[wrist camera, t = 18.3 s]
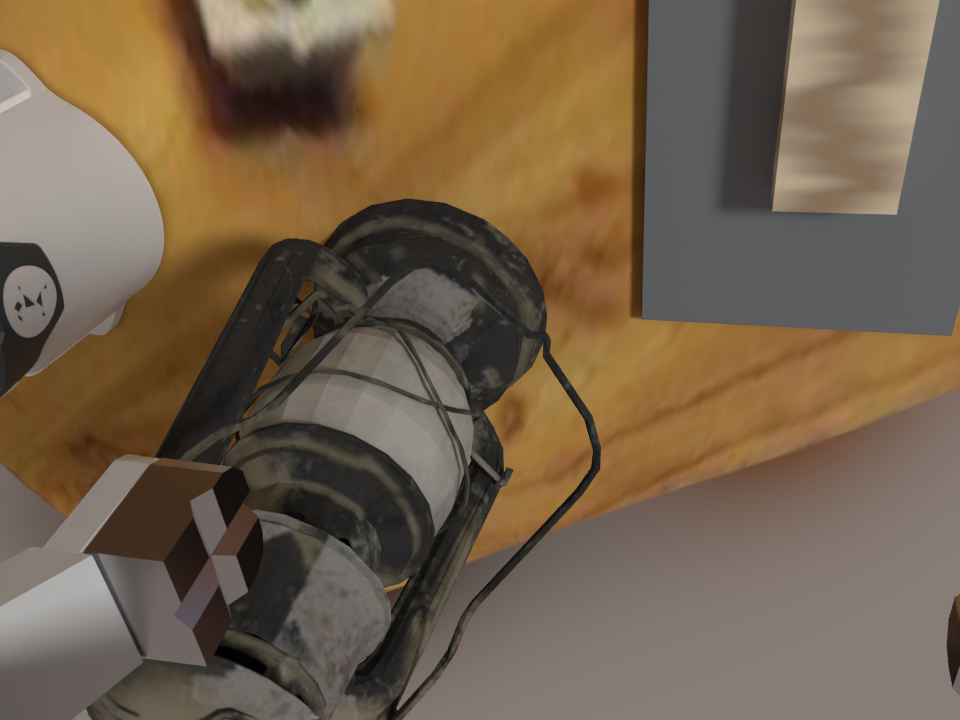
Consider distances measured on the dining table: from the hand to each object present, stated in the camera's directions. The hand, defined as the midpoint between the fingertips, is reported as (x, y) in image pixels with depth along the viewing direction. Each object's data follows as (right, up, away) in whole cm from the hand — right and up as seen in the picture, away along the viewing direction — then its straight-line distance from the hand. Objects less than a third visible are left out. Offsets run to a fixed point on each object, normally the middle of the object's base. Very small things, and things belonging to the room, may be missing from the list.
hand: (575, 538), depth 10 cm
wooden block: (+16, +10, +33) cm, 38 cm away
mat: (+15, +13, +33) cm, 39 cm away
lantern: (-3, +6, +44) cm, 44 cm away
